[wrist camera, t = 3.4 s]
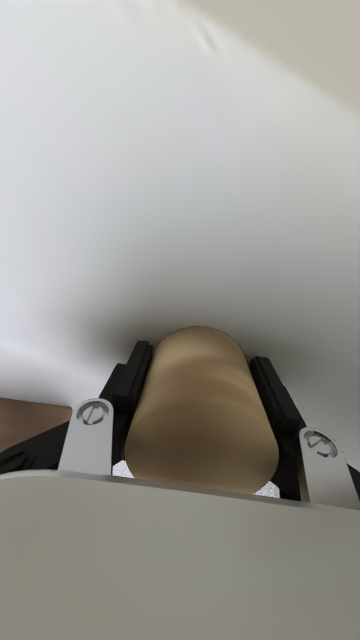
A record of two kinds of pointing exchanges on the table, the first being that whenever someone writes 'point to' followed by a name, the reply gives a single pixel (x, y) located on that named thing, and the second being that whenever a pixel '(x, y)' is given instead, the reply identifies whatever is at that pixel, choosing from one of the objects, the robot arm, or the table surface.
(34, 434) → the bottom block
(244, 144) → the table surface
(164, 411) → the beige knob
